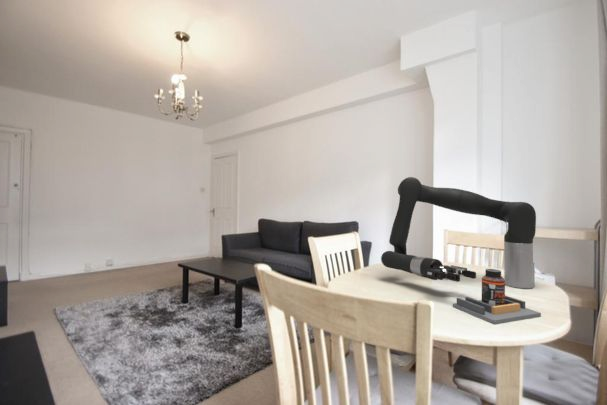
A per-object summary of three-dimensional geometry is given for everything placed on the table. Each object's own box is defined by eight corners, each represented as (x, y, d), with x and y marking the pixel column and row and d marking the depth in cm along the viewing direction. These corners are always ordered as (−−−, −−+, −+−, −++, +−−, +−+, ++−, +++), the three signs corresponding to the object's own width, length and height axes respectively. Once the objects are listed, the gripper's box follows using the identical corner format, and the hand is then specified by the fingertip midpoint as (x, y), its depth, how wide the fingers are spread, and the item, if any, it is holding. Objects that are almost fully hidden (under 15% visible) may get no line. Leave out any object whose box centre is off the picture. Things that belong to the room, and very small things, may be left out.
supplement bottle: (497, 312, 84) (497, 273, 84) (477, 305, 90) (477, 269, 90) (509, 308, 87) (509, 270, 87) (488, 302, 92) (488, 267, 92)
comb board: (495, 300, 97) (495, 292, 97) (540, 316, 84) (540, 305, 84) (452, 306, 92) (452, 297, 92) (494, 324, 78) (494, 313, 78)
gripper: (412, 259, 106) (453, 267, 92) (438, 255, 113) (480, 263, 99) (412, 279, 106) (453, 291, 92) (438, 275, 113) (480, 285, 99)
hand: (467, 276), depth 95 cm, fingers open, 8 cm apart
